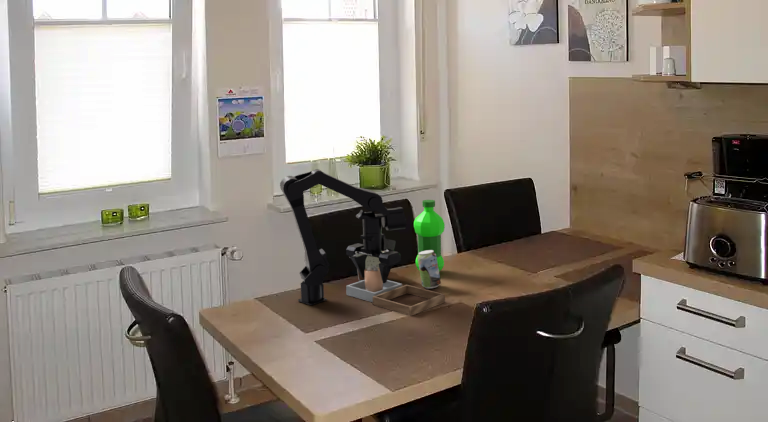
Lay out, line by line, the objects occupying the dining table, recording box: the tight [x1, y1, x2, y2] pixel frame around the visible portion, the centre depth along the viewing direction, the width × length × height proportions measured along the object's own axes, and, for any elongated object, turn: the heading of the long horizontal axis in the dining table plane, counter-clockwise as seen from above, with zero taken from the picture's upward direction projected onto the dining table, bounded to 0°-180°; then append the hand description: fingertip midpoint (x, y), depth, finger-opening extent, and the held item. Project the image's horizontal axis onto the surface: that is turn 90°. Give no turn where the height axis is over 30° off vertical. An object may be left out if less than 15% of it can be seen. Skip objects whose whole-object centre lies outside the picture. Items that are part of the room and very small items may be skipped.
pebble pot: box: [364, 265, 383, 292], centre depth 250 cm, size 6×6×8 cm
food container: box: [356, 249, 390, 282], centre depth 266 cm, size 12×6×10 cm, turn 84°
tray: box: [345, 279, 403, 303], centre depth 250 cm, size 12×12×3 cm
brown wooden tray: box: [372, 284, 446, 316], centre depth 240 cm, size 15×15×2 cm
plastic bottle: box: [413, 199, 446, 272], centre depth 268 cm, size 10×10×25 cm
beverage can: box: [416, 250, 442, 290], centre depth 254 cm, size 6×7×12 cm
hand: (373, 280), depth 250 cm, fingers open, 9 cm apart
